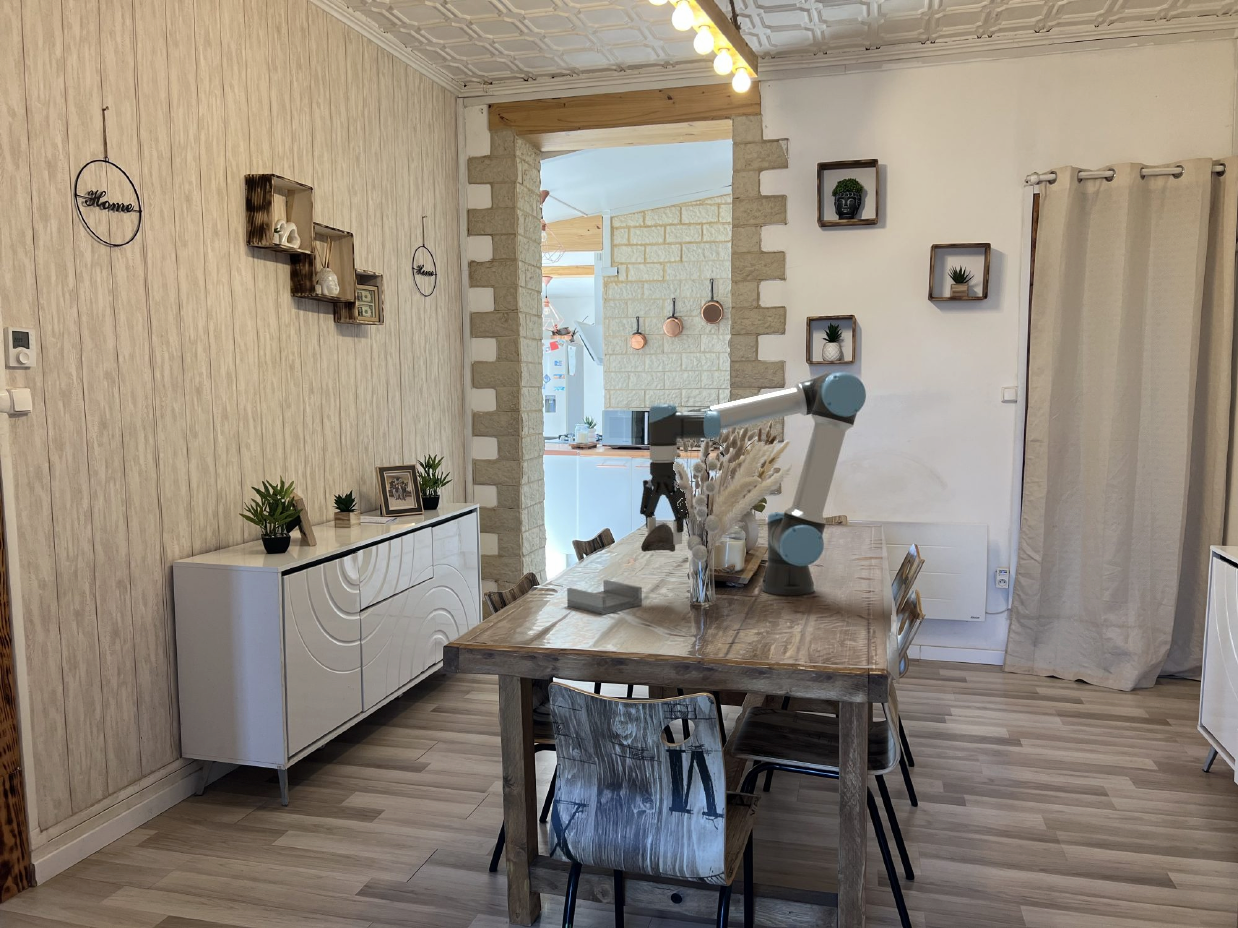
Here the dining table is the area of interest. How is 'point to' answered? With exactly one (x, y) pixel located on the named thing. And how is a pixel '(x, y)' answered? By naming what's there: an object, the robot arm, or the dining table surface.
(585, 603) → the lip bracket
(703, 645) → the dining table surface
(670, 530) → the stone
